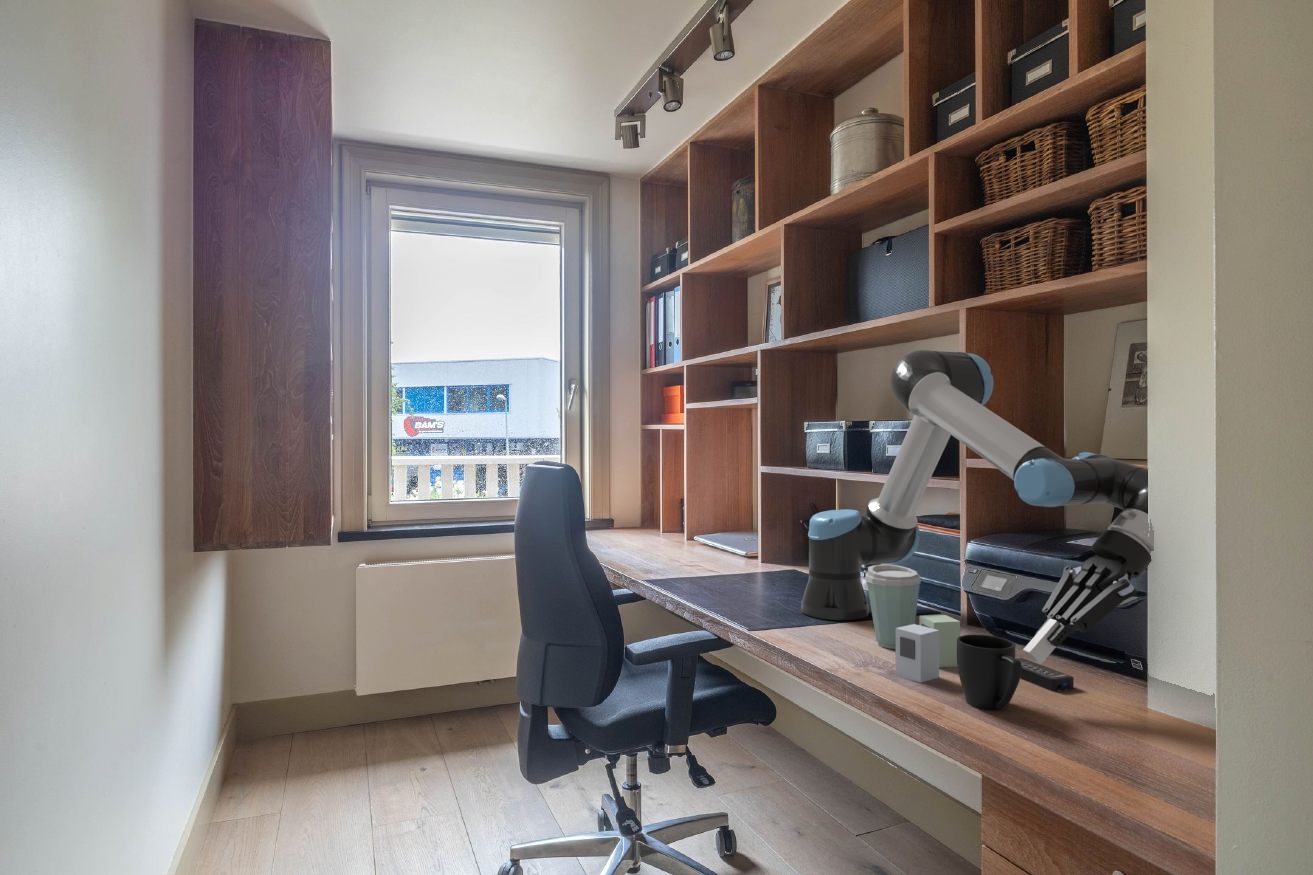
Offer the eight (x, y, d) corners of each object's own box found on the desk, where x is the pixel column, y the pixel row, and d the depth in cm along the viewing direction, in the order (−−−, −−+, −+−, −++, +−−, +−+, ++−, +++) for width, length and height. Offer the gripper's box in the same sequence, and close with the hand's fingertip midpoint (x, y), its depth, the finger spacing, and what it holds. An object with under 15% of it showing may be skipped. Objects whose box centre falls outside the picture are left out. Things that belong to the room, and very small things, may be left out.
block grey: (894, 674, 125) (894, 628, 125) (914, 669, 128) (914, 623, 128) (919, 683, 121) (919, 634, 121) (939, 677, 124) (939, 630, 124)
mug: (988, 724, 104) (989, 657, 104) (946, 694, 116) (946, 634, 116) (1043, 722, 105) (1043, 655, 104) (995, 692, 116) (995, 633, 116)
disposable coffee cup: (934, 648, 141) (934, 570, 141) (892, 656, 136) (892, 575, 136) (893, 635, 150) (893, 562, 150) (852, 641, 145) (852, 566, 145)
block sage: (918, 659, 134) (918, 615, 134) (944, 657, 135) (944, 614, 135) (932, 667, 129) (932, 622, 129) (959, 666, 130) (960, 621, 130)
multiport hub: (1021, 670, 129) (1021, 657, 129) (1075, 691, 118) (1075, 676, 118) (1001, 672, 127) (1001, 659, 127) (1053, 694, 117) (1053, 679, 117)
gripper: (1083, 522, 120) (989, 629, 117) (1148, 533, 107) (1045, 652, 104) (1111, 554, 121) (1020, 660, 118) (1180, 568, 108) (1078, 687, 105)
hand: (1032, 656), depth 111 cm, fingers closed
